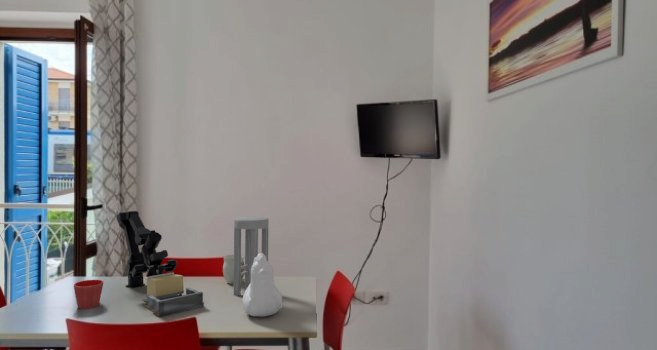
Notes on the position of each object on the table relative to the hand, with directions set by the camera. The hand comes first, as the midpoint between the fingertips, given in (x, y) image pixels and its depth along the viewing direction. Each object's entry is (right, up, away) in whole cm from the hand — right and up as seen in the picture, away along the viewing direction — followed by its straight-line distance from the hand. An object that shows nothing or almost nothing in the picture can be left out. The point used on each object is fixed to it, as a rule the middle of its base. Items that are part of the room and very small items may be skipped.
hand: (160, 284), depth 183 cm
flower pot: (-26, -7, -9) cm, 29 cm away
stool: (+38, -7, +11) cm, 40 cm away
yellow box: (+4, -5, -4) cm, 7 cm away
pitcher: (+26, -7, +30) cm, 40 cm away
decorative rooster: (+47, -8, -13) cm, 49 cm away
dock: (+4, -8, -4) cm, 10 cm away
